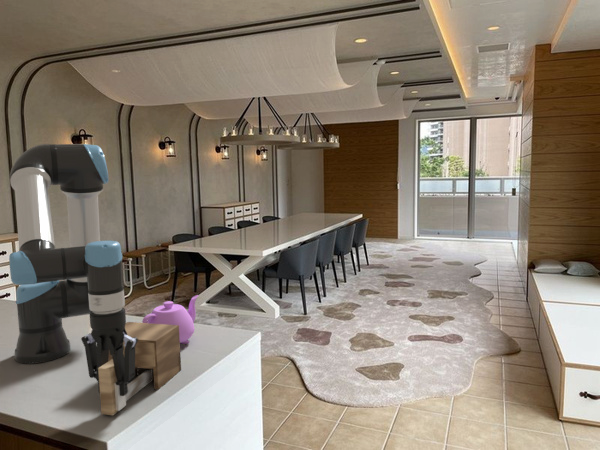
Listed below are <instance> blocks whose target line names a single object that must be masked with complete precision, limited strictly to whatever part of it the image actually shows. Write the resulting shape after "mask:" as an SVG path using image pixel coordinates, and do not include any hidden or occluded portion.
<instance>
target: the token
mask: <svg viewBox="0 0 600 450" xmlns="http://www.w3.org/2000/svg"><path fill="white" fill-rule="evenodd" d="M138 376H139V368H137V367H135V376H134V377H133V378H132V379H130V380H129V381H128V382H127V384H129V383H130V382H132V381H133V380H134V379H136V378H137V377H138Z"/></svg>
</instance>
